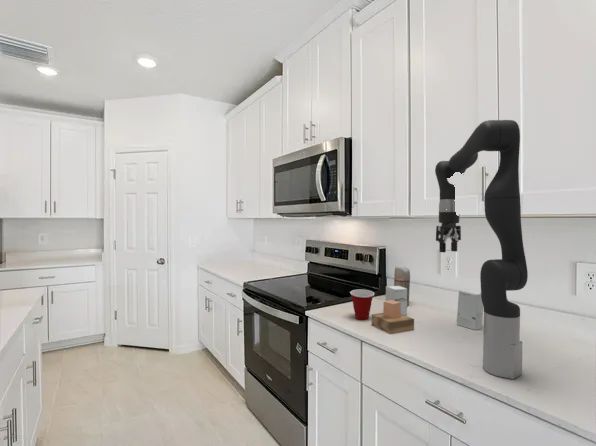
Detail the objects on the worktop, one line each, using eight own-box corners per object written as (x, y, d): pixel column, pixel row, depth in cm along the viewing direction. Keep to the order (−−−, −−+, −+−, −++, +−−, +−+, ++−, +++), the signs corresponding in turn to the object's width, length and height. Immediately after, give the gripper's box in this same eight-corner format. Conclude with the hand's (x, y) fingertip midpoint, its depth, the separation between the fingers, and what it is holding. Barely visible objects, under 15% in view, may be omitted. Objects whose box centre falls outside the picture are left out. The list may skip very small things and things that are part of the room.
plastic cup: (351, 321, 145) (351, 294, 145) (348, 314, 156) (348, 289, 156) (376, 322, 144) (376, 294, 144) (372, 315, 155) (372, 289, 155)
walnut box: (414, 331, 135) (414, 318, 135) (390, 335, 130) (390, 322, 130) (394, 322, 146) (394, 311, 146) (371, 326, 141) (371, 314, 141)
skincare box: (456, 325, 142) (456, 290, 141) (464, 322, 145) (464, 288, 145) (476, 330, 134) (476, 294, 134) (484, 328, 138) (484, 292, 138)
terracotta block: (400, 316, 138) (400, 302, 138) (394, 318, 134) (394, 304, 134) (390, 314, 141) (390, 300, 141) (383, 316, 138) (383, 301, 138)
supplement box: (393, 316, 153) (393, 289, 153) (385, 312, 161) (385, 286, 160) (407, 315, 155) (407, 288, 155) (398, 311, 163) (398, 285, 162)
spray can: (398, 301, 181) (398, 265, 180) (412, 304, 175) (412, 266, 174) (389, 304, 175) (390, 266, 175) (404, 307, 169) (404, 268, 169)
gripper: (448, 210, 125) (447, 253, 125) (467, 211, 134) (466, 251, 134) (430, 210, 131) (429, 251, 131) (449, 211, 140) (449, 250, 140)
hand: (448, 251), depth 133 cm, fingers open, 8 cm apart
